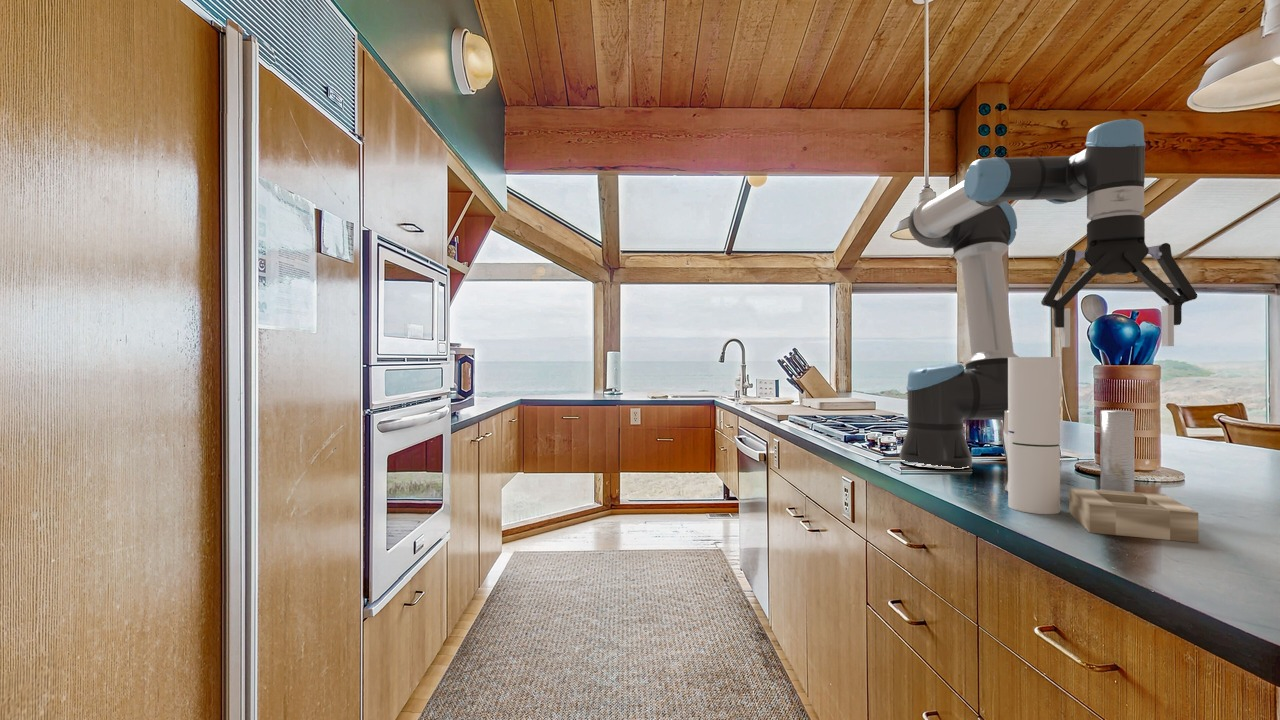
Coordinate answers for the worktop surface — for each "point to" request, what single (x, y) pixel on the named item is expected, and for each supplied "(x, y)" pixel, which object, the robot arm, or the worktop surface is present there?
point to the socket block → (1133, 514)
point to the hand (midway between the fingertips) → (1115, 347)
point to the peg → (1117, 450)
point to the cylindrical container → (1034, 434)
